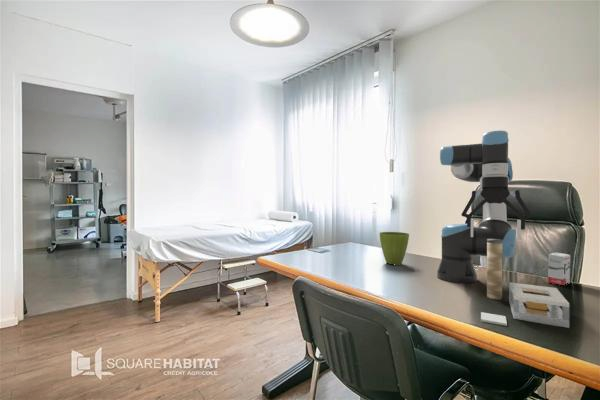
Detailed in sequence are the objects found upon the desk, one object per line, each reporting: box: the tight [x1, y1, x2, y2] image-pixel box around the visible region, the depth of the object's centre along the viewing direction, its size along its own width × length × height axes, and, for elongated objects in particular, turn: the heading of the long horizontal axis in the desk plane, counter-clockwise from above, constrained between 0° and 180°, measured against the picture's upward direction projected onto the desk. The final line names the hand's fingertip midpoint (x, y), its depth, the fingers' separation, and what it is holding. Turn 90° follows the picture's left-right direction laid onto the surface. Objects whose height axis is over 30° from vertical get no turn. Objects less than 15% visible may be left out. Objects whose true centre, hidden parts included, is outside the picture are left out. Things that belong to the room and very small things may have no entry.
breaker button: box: [525, 301, 547, 310], centre depth 89 cm, size 5×5×2 cm
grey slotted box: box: [508, 281, 570, 329], centre depth 89 cm, size 12×16×6 cm
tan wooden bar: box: [486, 239, 503, 300], centre depth 104 cm, size 4×4×20 cm
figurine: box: [479, 256, 487, 268], centre depth 146 cm, size 9×9×12 cm
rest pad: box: [480, 311, 508, 327], centre depth 85 cm, size 6×6×1 cm
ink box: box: [547, 252, 571, 286], centre depth 121 cm, size 8×5×12 cm, turn 123°
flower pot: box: [378, 231, 410, 266], centre depth 157 cm, size 15×15×16 cm
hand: (494, 238), depth 103 cm, fingers open, 13 cm apart
